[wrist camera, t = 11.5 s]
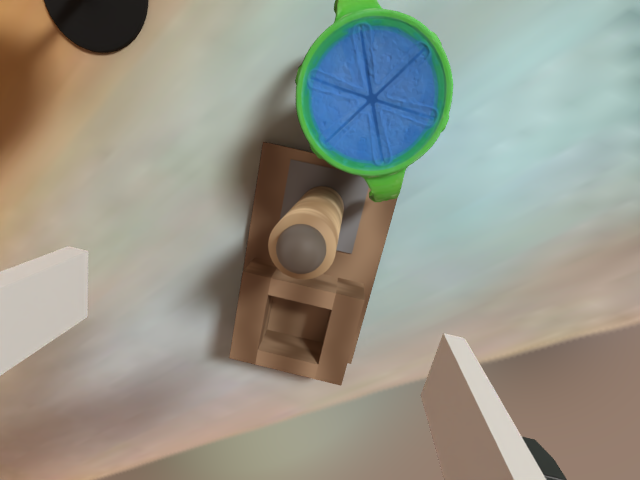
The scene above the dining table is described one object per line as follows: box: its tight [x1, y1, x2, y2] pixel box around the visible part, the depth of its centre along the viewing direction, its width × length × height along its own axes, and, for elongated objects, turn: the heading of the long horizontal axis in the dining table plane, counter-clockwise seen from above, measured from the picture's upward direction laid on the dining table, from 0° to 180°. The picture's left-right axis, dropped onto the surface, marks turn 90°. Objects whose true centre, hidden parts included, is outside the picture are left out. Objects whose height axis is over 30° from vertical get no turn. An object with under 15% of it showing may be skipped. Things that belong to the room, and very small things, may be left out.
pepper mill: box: [268, 186, 344, 280], centre depth 27 cm, size 4×4×15 cm
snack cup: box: [295, 0, 453, 202], centre depth 28 cm, size 16×10×10 cm
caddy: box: [229, 142, 398, 385], centre depth 35 cm, size 14×22×5 cm, turn 168°
